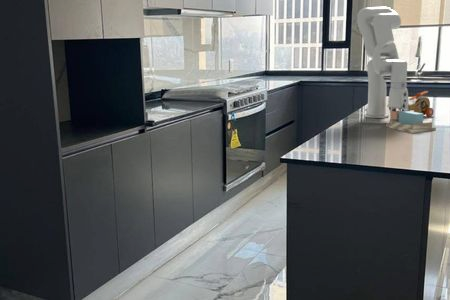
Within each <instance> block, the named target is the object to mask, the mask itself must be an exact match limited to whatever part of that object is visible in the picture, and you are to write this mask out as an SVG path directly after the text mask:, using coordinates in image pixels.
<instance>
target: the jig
mask: <svg viewBox="0 0 450 300" xmlns="http://www.w3.org/2000/svg"><path fill="white" fill-rule="evenodd" d="M398 119H399V118H398ZM398 119H389V123H388V124H385V127H386V128H388V127H389V128H388V129H393V130H397V131H402V132H406V133H412V134H414V133H416V134H417V133H422V132H431V131H436V130H437V127H436V126H433V121H426V122H423V123H417V124H412V125H408V124H403V123H398ZM430 130H431V131H430Z"/></svg>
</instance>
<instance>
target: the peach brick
mask: <svg viewBox="0 0 450 300" xmlns="http://www.w3.org/2000/svg"><path fill="white" fill-rule="evenodd" d="M389 113H390V114H389V115H390V116H389V117H390V119H398V115H399V110H398V109H396V111H390V110H389ZM390 119H389V120H390Z"/></svg>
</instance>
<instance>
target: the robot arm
mask: <svg viewBox="0 0 450 300" xmlns="http://www.w3.org/2000/svg"><path fill="white" fill-rule="evenodd" d="M356 17H357V18H356V22H357V26H358V29H359V31H360V34H361V36H362V39H363V43H364V44H363V45H364V48H365V49H364V50H365V52H366V53H365V54H366V55H367V56H368V58H371V59H370V60H369V61H368V62H367V64H366V70H367V72H366V73H367V79H368V81H367V82H368V85H367V87H368V88H367V89H368V90H367V108H364V111H365V112H366V113H364V117H365V118H371V119H384V118H388V117H390V116H389V115H390V114H388V113H386V112H387V111H386V110H387V108H388V110H389V112H390V111H397V110H399V111H407V110H408V104H409V91H408V88H407V86H408V83H407V80H408V62H407V61H406V60H400V57H399V53H398V49H397V45H396V43H395V38H394V33H393V30H397V29H400V27H401V24H402V19H401V17H400V14H398V12H396V11H395V10H393V9H391V7H387V6H374V7H373V6H372V7H363V8H361V9H360V10H359V11H358V13H357V16H356ZM388 76H389V77H390V88H389V92H388V93H389V94H388V102H387V89H388V88H387V86H388V85H387V82H386V80H385V77H388ZM398 118H399V115H398Z"/></svg>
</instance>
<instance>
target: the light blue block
mask: <svg viewBox="0 0 450 300" xmlns="http://www.w3.org/2000/svg"><path fill="white" fill-rule="evenodd" d="M398 123H403V124H408V125H412V124H417V123H424V115H423V114H422V113H417V112H414V111H412V110H411V111H402V110H401V111H399V119H398Z"/></svg>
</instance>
